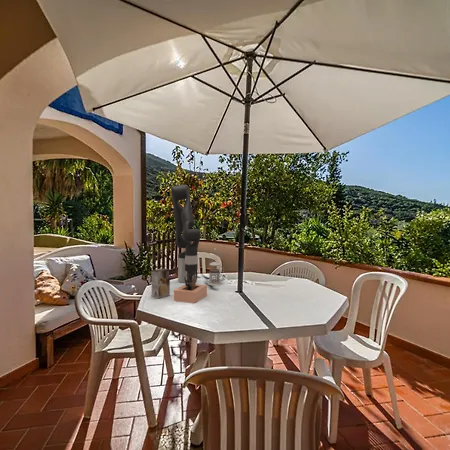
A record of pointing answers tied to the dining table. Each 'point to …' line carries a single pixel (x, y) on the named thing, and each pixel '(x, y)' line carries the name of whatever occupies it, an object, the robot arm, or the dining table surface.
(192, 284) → the walnut post
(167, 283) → the coffee box
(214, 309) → the dining table surface
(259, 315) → the dining table surface
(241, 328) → the dining table surface
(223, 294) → the dining table surface
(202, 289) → the orange rectangular frame
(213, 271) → the french press
